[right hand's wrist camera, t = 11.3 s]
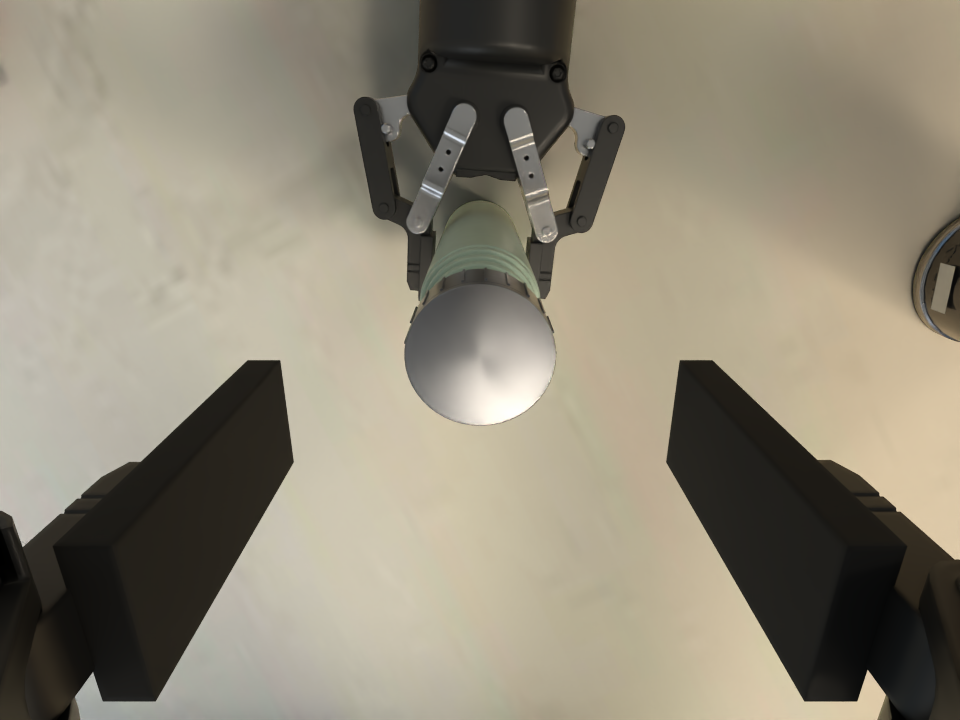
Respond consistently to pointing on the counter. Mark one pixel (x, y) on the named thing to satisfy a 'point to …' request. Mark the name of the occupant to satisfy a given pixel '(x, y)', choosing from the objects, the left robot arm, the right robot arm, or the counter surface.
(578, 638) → the counter surface
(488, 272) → the cap
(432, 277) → the bottle
